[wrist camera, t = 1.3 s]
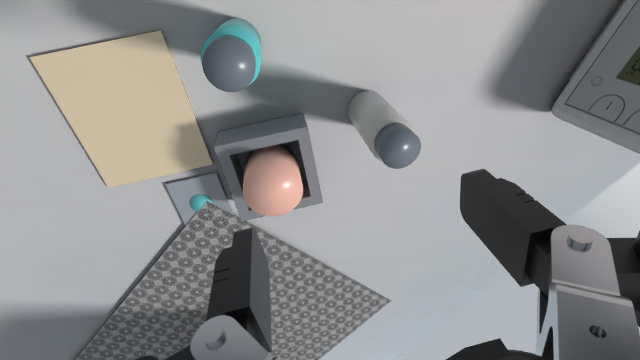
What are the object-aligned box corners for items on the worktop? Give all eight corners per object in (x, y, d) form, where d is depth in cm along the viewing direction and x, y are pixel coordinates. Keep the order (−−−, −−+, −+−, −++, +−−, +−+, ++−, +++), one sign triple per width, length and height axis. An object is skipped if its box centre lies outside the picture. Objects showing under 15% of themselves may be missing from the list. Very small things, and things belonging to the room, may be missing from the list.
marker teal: (209, 23, 26) (186, 40, 18) (254, 14, 26) (251, 27, 19) (223, 69, 28) (209, 102, 20) (265, 60, 28) (267, 90, 20)
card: (165, 183, 32) (164, 185, 32) (216, 171, 33) (216, 173, 32) (188, 229, 36) (188, 232, 35) (234, 219, 36) (234, 221, 36)
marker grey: (345, 94, 31) (374, 132, 23) (383, 86, 31) (424, 121, 23) (350, 130, 33) (378, 176, 25) (385, 122, 33) (424, 166, 25)
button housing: (218, 131, 31) (213, 147, 28) (302, 112, 31) (307, 126, 28) (243, 201, 35) (241, 221, 32) (317, 184, 35) (322, 202, 32)
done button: (237, 151, 30) (234, 173, 26) (292, 139, 30) (296, 159, 27) (253, 196, 32) (252, 221, 29) (303, 185, 33) (308, 208, 29)
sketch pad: (31, 56, 25) (29, 57, 25) (161, 30, 26) (160, 30, 26) (109, 186, 32) (108, 187, 32) (213, 163, 32) (212, 164, 32)
